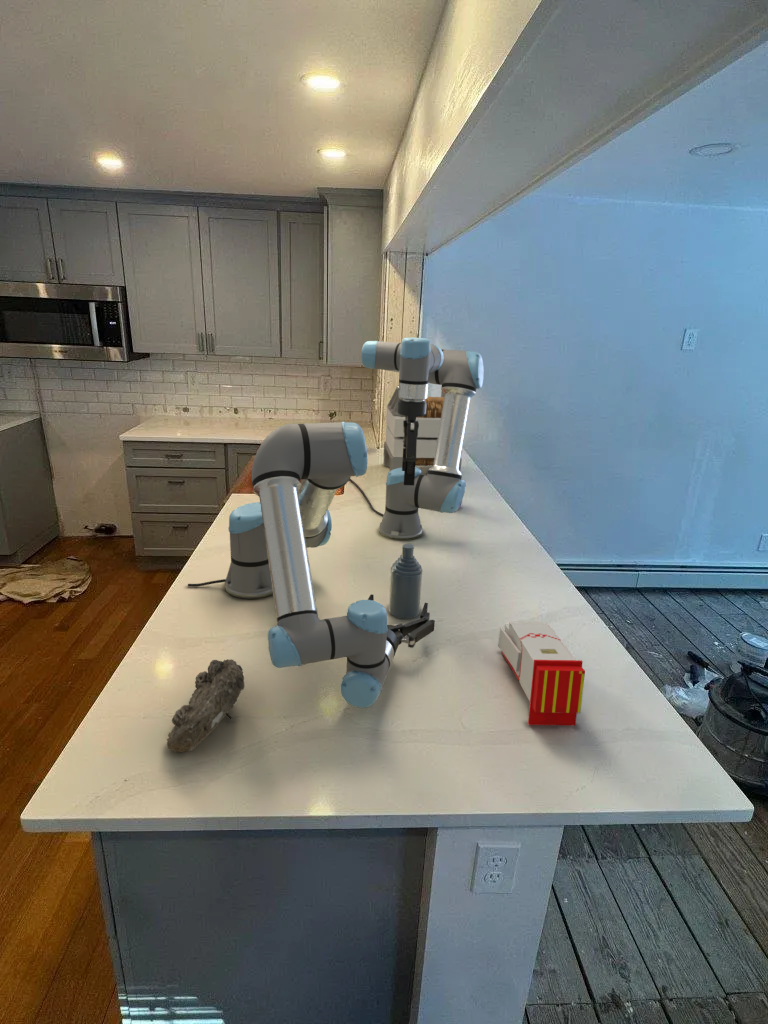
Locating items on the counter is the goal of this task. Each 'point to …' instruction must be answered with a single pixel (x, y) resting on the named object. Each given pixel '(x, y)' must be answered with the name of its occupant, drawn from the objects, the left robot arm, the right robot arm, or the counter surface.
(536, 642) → the toy
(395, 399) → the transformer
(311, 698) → the counter surface
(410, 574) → the bottle
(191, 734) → the fossil
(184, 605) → the counter surface
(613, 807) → the counter surface
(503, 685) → the counter surface
